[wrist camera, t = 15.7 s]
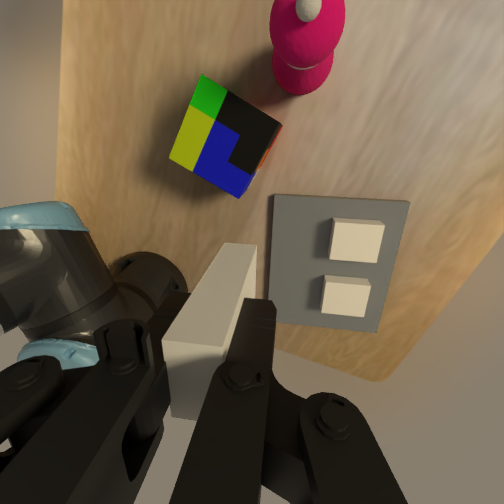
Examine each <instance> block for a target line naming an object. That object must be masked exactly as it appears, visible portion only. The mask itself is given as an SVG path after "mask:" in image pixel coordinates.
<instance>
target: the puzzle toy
mask: <svg viewBox="0 0 504 504" xmlns="http://www.w3.org/2000/svg"><path fill="white" fill-rule="evenodd" d="M282 127H283V126H282V124H281V123H280V122H278V121H276V120H275V119H273V118H272V117H270V116H268V115H267V114H265V113H264V112H262V111H260V110H259V109H257V108H255V107H254V106H252V105H251V104H249V103H247V102H246V101H244V100H243V99H241V98H239V97H238V96H236V95H234V94H233V93H231V92H230V91H228V90H226V89H225V88H223V87H222V86H220V85H218V84H217V83H215V82H213V81H212V80H210V79H209V78H207V77H205V76H204V75H202V74H201V76H200V79H199V81H198V84H197V86H196V89H195V92H194V94H193V97H192V99H191V102H190V104H189V107H188V110H187V112H186V115H185V117H184V120H183V122H182V125H181V128H180V130H179V133H178V135H177V138H176V140H175V143H174V146H173V148H172V151H171V153H170V156H169V158H170V159H171V160H173V161H175V162H176V163H178V164H180V165H182V166H183V167H185V168H187V169H188V170H190V171H192V172H193V173H195V174H197V175H199V176H200V177H202V178H204V179H205V180H207V181H209V182H211V183H212V184H214V185H216V186H217V187H219V188H221V189H222V190H224V191H226V192H228V193H229V194H231V195H233V196H234V197H236V198H238V199H239V198H240V197H241V196H242V195H243V194H244V192H245V191H246V190H247V189H248V188H249V187H250V185H251V184H252V182H253V180H254V178H255V176H256V174H257V173H258V171H259V169H260V167H261V165H262V163H263V162H264V160H265V158H266V156H267V154H268V152H269V151H270V149H271V147H272V145H273V143H274V141H275V140H276V138H277V136H278V134H279V132H280V130H281V129H282Z"/></svg>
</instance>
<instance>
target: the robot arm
mask: <svg viewBox="0 0 504 504" xmlns="http://www.w3.org/2000/svg"><path fill="white" fill-rule="evenodd" d="M89 232H90V231H89V230H88V229H87V228H86V227H85V226H84V224H83V223H82V221H81V219H80V218H79V216H78V214H77V213H76V211H75V210H74V208H73V207H71V206H70V205H69V204H67V203H64V202H60V201H48V202H37V203H29V204H23V205H16V206H10V207H4V208H0V336H1V335H3V334H5V333H6V332H8V331H10V330H12V329H14V328H15V327H17V326H19V328H20V329H21V330H22V332H23V333H24V335H25V336H26V337H27V339H28V341H29V343H27V344H26V345H24V347H23V348H22V350H21V351H20V353H19V354H18V356H17V361H18V362H17V363H15V364H13V365H11V366H9V367H7V368H6V369H4V370H2V371H1V372H0V444H1V443H2V442H4V441H5V440H6V439H7V438H8V440H9V442H10V444H11V446H12V447H11V448H9V449H8V450H6V451H4V452H0V504H133V503H134V501H135V499H136V496H137V494H138V492H139V490H140V487H141V485H142V483H143V481H144V478H145V476H146V474H147V471H148V469H149V467H150V464H151V462H152V460H153V457H154V455H155V453H156V451H157V448H158V446H159V444H160V441H161V439H162V436H163V431H164V425H163V417H164V415H165V413H166V411H167V409H168V406H169V405H170V408H171V416H172V417H176V418H182V419H188V420H195V421H197V423H196V426H195V429H194V432H193V435H192V438H191V441H190V443H189V446H188V449H187V452H186V455H185V458H184V461H183V464H182V467H181V470H180V473H179V475H178V478H177V481H176V484H175V487H174V490H173V493H172V496H171V499H170V502H169V504H260V497H261V486H262V485H263V486H265V487H266V488H268V489H269V490H271V491H272V492H274V493H276V494H277V495H279V496H280V497H282V498H283V499H285V500H287V501H288V502H290V504H408V503H407V501H406V499H405V497H404V495H403V493H402V491H401V489H400V487H399V485H398V483H397V481H396V479H395V477H394V475H393V473H392V472H391V469H390V467H389V465H388V463H387V461H386V459H385V457H384V456H383V453H382V451H381V449H380V447H379V445H378V443H377V441H376V439H375V437H374V435H373V433H372V431H371V429H370V427H369V425H368V423H367V421H366V419H365V418H364V416H363V415H362V413H361V412H360V411H359V409H358V408H357V407H356V406H355V405H354V404H353V403H351V402H350V401H349V400H347V399H346V398H344V397H342V396H339V395H337V394H334V393H326V392H321V393H317V394H313V395H311V396H310V397H308V398H307V399H304V398H302V397H300V396H298V395H296V394H293V393H292V392H290V391H288V390H286V389H285V388H284V387H283V386H282V385H281V384H279V382H278V381H277V380H276V378H275V377H274V374H273V371H272V364H273V353H274V342H275V329H276V316H277V309H276V307H275V305H274V303H273V301H272V300H264V299H255V283H256V256H257V245H248V244H235V243H224V245H223V246H222V248H221V249H220V251H219V252H218V254H217V255H216V257H215V258H214V260H213V261H212V263H211V264H210V266H209V268H208V269H207V271H206V272H205V274H204V275H203V277H202V278H201V280H200V281H199V283H198V284H197V286H196V287H195V289H194V291H193V292H192V293H188V289H187V284H186V281H185V279H184V277H183V275H182V273H181V272H180V270H179V269H178V268H177V267H176V266H175V265H174V264H173V263H172V262H170V261H169V260H168V259H166V258H164V257H162V256H160V255H158V254H155V253H151V252H135V253H132V254H129V255H127V256H126V257H124V258H123V259H122V260H120V261H119V262H118V263H116V265H115V266H114V267H113V268H112V270H111V272H109V270H108V268H107V266H106V265H105V263H104V261H103V259H102V257H101V255H100V253H99V251H98V249H97V248H96V246H95V244H94V242H93V240H92V238H91V236H90V234H89Z"/></svg>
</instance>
